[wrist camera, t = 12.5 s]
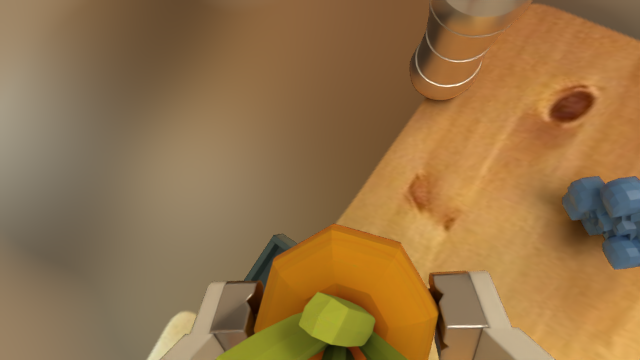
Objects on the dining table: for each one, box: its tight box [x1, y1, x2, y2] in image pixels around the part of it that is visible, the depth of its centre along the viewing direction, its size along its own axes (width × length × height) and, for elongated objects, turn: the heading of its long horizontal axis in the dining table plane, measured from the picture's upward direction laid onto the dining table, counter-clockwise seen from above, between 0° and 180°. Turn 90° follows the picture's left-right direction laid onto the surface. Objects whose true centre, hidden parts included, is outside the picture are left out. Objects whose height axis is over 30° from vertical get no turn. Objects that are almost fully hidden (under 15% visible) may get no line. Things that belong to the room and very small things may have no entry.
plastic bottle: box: [410, 0, 533, 100], centre depth 26 cm, size 6×7×20 cm
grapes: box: [562, 176, 640, 270], centre depth 27 cm, size 12×7×12 cm, turn 60°
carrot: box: [215, 224, 439, 360], centre depth 12 cm, size 5×5×15 cm
